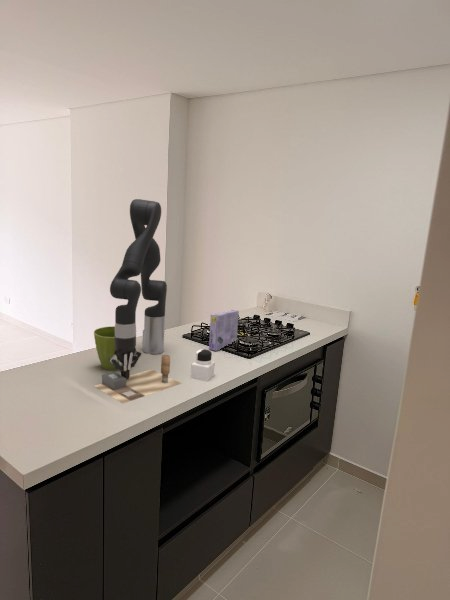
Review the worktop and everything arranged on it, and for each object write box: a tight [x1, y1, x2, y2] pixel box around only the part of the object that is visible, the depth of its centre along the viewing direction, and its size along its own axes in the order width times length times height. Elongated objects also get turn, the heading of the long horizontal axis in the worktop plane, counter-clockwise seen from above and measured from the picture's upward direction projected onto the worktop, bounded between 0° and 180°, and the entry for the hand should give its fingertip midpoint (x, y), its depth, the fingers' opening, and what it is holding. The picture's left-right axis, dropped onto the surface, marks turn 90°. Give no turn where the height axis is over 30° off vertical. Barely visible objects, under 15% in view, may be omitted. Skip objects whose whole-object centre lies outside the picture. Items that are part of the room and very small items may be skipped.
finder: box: [101, 371, 126, 390], centre depth 150 cm, size 8×5×3 cm, turn 46°
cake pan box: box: [208, 309, 240, 352], centre depth 205 cm, size 19×5×18 cm, turn 144°
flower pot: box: [93, 325, 120, 371], centre depth 166 cm, size 15×15×16 cm
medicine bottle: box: [190, 348, 216, 382], centre depth 163 cm, size 7×7×12 cm
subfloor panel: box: [93, 368, 182, 404], centre depth 152 cm, size 18×26×2 cm
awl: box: [160, 354, 171, 383], centre depth 155 cm, size 3×3×10 cm
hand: (125, 379), depth 153 cm, fingers closed
